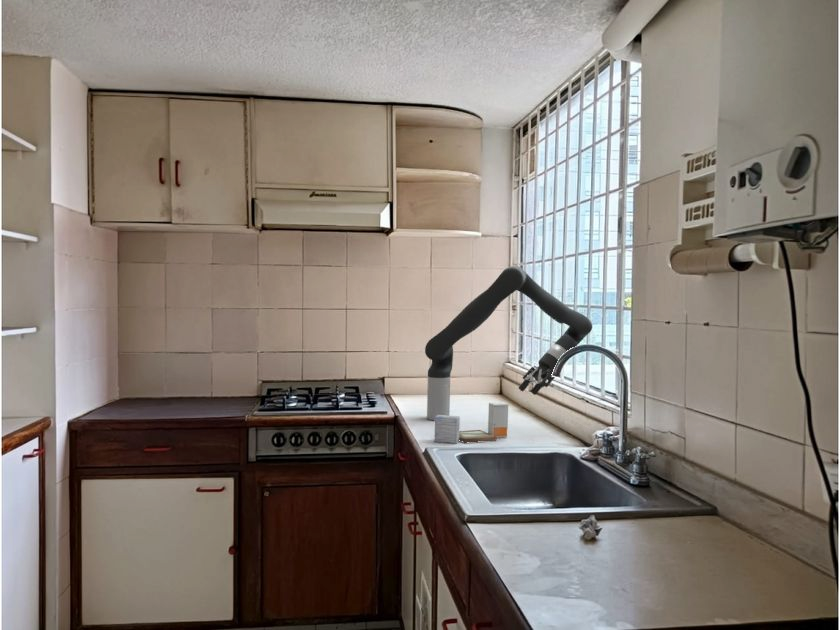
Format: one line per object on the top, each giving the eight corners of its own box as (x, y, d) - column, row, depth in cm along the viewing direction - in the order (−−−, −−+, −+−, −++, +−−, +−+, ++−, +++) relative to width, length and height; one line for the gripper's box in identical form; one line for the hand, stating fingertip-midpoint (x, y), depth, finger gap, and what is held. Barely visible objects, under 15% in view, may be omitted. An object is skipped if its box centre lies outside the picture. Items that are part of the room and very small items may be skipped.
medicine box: (459, 441, 211) (460, 416, 211) (456, 444, 207) (457, 418, 207) (437, 439, 213) (437, 414, 213) (434, 442, 209) (434, 416, 209)
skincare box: (492, 438, 216) (492, 404, 216) (487, 435, 220) (488, 402, 220) (508, 437, 218) (508, 404, 218) (503, 435, 222) (504, 402, 222)
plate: (449, 435, 219) (450, 431, 219) (479, 433, 223) (480, 429, 223) (464, 443, 208) (464, 438, 208) (496, 441, 212) (496, 436, 212)
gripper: (537, 350, 233) (510, 382, 229) (559, 353, 219) (530, 387, 215) (549, 364, 235) (522, 395, 231) (571, 368, 221) (543, 401, 217)
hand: (526, 391), depth 223 cm, fingers open, 8 cm apart
